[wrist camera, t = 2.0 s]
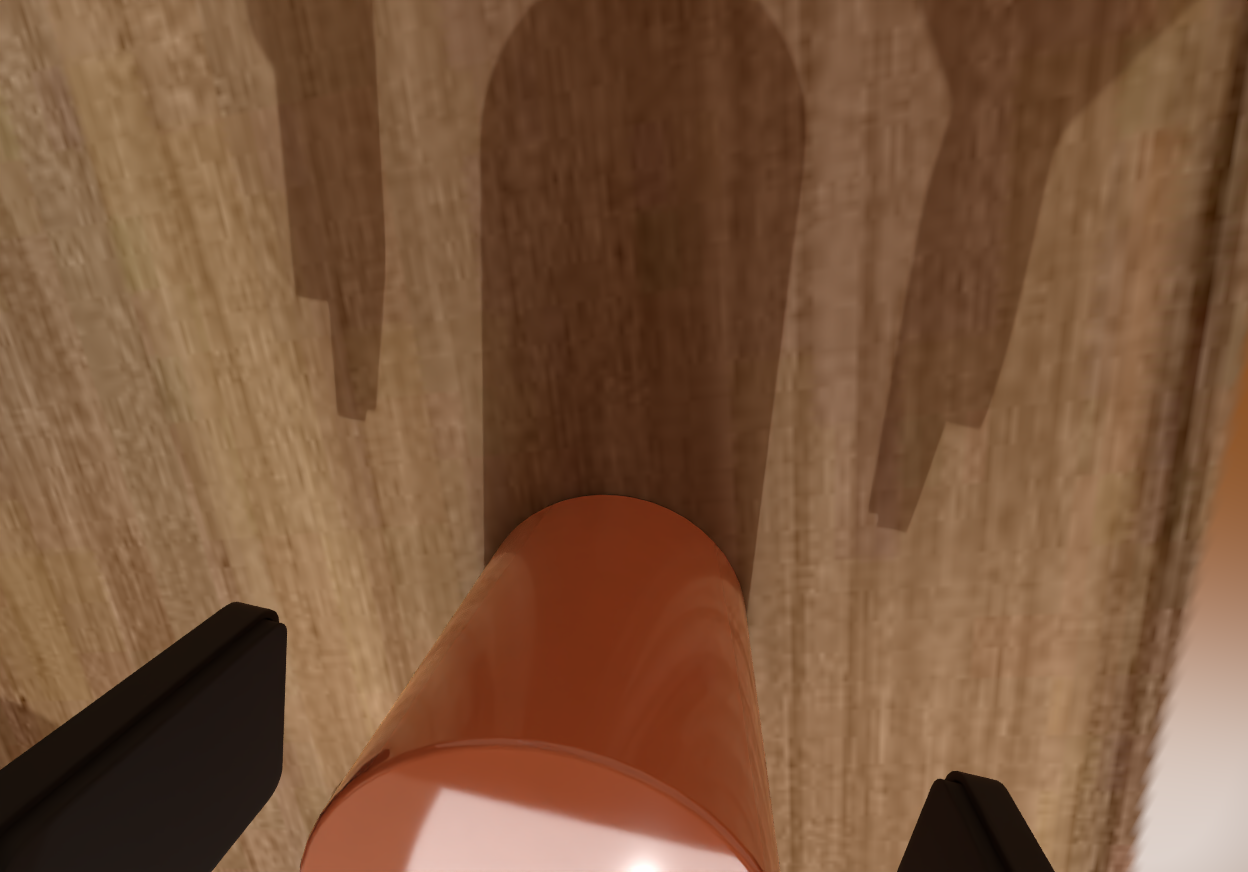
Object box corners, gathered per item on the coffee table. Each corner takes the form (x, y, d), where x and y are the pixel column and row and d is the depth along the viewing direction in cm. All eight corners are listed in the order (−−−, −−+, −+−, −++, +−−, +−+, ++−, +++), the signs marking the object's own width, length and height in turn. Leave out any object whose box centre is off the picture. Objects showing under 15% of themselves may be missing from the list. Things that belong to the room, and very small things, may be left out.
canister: (500, 467, 11) (300, 686, 6) (776, 526, 11) (858, 820, 5) (470, 694, 13) (288, 1050, 7) (712, 750, 13) (725, 1169, 7)
